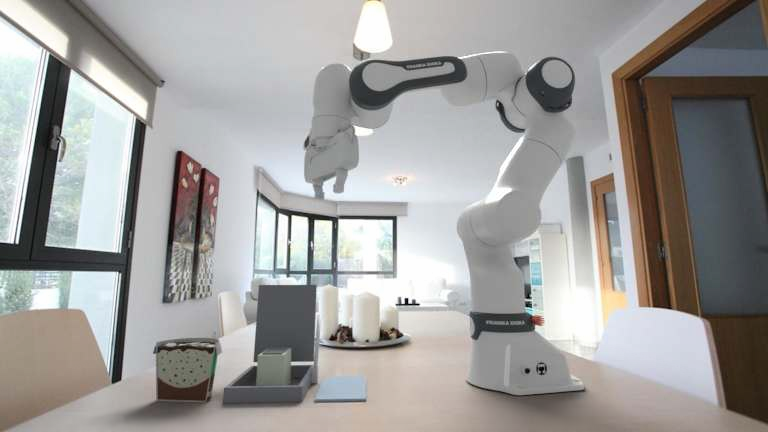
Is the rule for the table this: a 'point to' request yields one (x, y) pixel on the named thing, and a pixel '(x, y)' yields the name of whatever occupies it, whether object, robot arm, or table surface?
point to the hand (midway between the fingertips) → (328, 196)
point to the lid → (286, 320)
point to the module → (274, 367)
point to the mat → (342, 389)
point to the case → (295, 393)
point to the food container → (186, 369)
